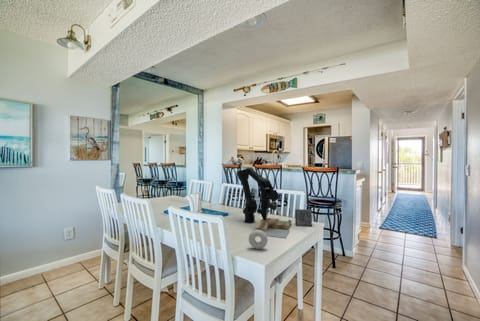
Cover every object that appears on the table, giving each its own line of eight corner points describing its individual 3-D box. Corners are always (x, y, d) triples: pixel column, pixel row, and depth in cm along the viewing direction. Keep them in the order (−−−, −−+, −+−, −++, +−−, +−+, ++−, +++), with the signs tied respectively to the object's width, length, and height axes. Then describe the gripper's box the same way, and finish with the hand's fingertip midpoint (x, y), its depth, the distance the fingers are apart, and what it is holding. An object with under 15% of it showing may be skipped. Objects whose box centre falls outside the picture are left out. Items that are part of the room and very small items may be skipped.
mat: (250, 233, 143) (250, 233, 143) (256, 227, 156) (256, 226, 156) (285, 238, 135) (285, 237, 135) (289, 231, 148) (289, 230, 148)
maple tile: (257, 229, 150) (256, 227, 150) (260, 221, 157) (260, 219, 156) (266, 230, 148) (265, 228, 147) (268, 222, 155) (268, 220, 154)
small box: (310, 223, 164) (310, 209, 164) (312, 226, 158) (312, 211, 157) (295, 223, 165) (295, 208, 165) (296, 226, 159) (296, 211, 158)
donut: (248, 249, 119) (248, 230, 119) (249, 246, 123) (249, 228, 123) (267, 250, 118) (267, 231, 118) (267, 248, 121) (267, 229, 121)
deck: (258, 227, 157) (258, 222, 156) (264, 221, 170) (264, 217, 170) (288, 230, 149) (288, 225, 149) (291, 224, 162) (291, 220, 162)
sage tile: (278, 223, 156) (278, 220, 155) (281, 219, 163) (281, 217, 163) (287, 224, 153) (287, 221, 153) (289, 220, 161) (289, 218, 161)
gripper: (273, 201, 144) (273, 226, 145) (279, 196, 162) (279, 218, 162) (256, 200, 148) (256, 224, 148) (264, 195, 166) (264, 217, 166)
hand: (264, 221), depth 156 cm, fingers closed
